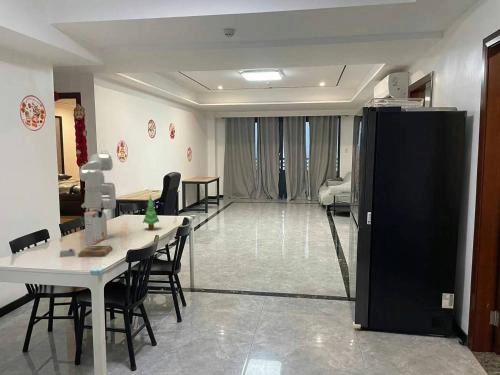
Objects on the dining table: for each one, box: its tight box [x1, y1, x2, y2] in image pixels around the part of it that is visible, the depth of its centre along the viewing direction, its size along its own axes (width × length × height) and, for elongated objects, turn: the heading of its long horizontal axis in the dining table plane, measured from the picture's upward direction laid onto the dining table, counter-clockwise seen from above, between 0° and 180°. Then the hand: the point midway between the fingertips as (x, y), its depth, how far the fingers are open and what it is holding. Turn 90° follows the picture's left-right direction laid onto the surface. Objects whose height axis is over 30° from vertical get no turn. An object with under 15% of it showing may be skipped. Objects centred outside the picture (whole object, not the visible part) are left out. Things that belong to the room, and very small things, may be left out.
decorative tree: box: [142, 194, 160, 231], centre depth 302 cm, size 14×16×30 cm
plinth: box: [77, 245, 113, 258], centre depth 231 cm, size 16×16×3 cm
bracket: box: [59, 248, 76, 258], centre depth 226 cm, size 5×8×4 cm, turn 113°
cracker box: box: [83, 209, 106, 246], centre depth 229 cm, size 14×6×21 cm, turn 174°
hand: (94, 217), depth 229 cm, fingers closed on cracker box, 6 cm apart
